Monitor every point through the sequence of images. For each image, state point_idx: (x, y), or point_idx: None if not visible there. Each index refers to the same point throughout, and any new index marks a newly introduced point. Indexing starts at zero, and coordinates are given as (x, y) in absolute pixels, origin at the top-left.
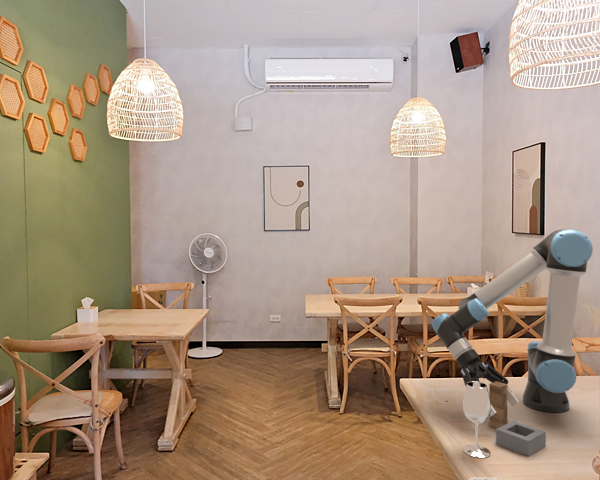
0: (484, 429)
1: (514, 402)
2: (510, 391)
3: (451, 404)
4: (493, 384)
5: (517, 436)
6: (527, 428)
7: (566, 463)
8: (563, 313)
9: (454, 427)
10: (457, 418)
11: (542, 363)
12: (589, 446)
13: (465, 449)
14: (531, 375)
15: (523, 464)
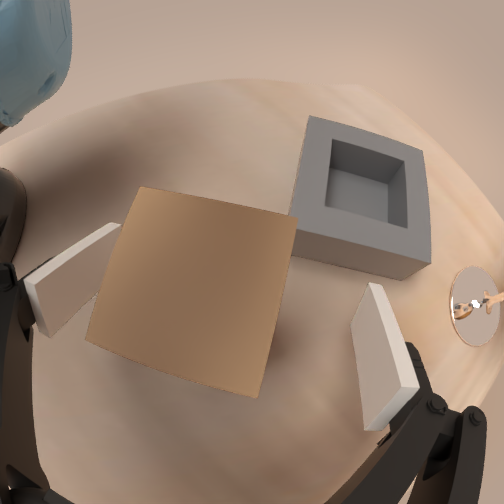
0: (308, 367)
1: (114, 246)
2: (63, 254)
3: None
4: (248, 337)
5: (424, 181)
6: (329, 163)
7: (359, 110)
8: None
9: (364, 461)
10: (263, 492)
11: None
12: (219, 85)
13: (490, 332)
14: None
15: (443, 185)
